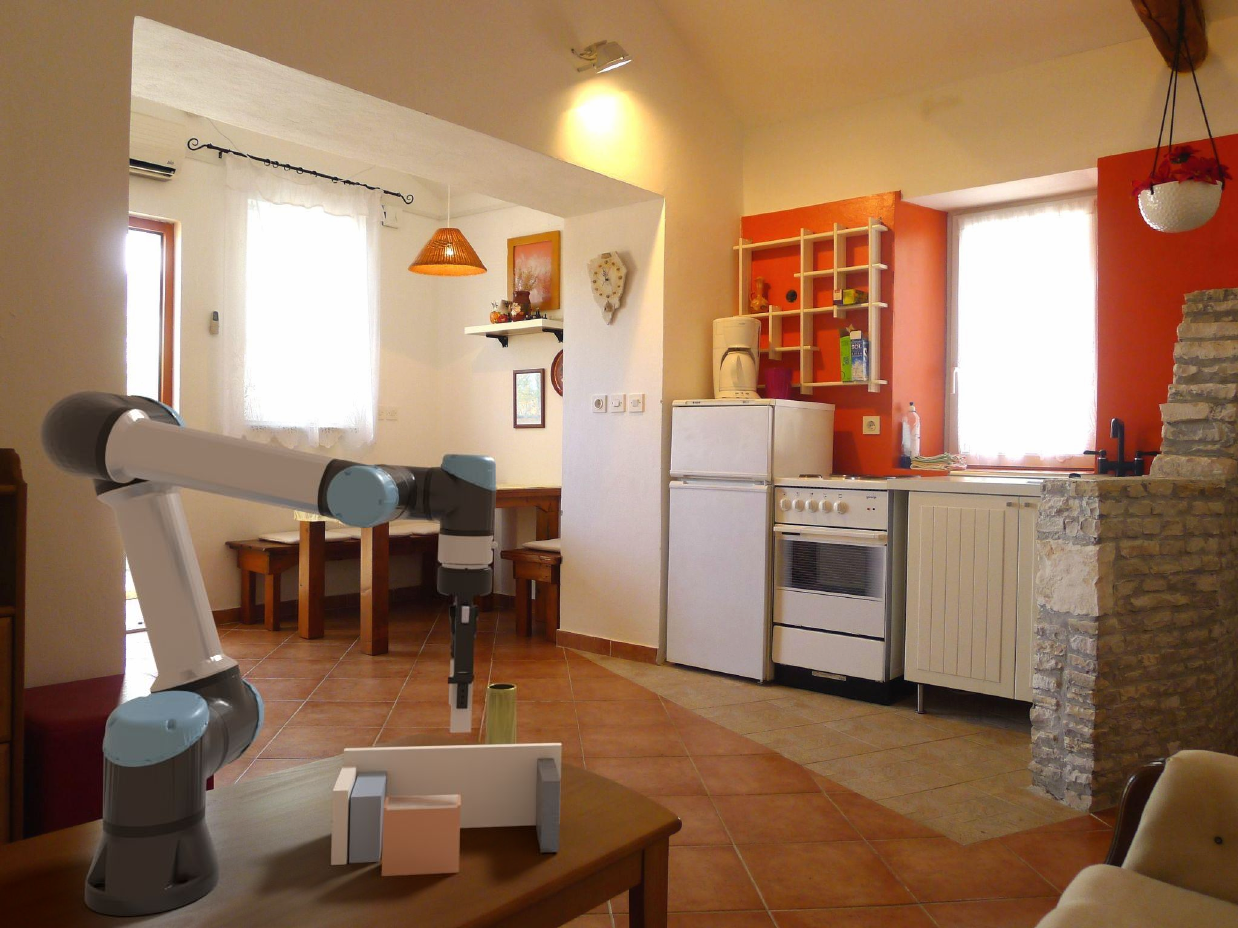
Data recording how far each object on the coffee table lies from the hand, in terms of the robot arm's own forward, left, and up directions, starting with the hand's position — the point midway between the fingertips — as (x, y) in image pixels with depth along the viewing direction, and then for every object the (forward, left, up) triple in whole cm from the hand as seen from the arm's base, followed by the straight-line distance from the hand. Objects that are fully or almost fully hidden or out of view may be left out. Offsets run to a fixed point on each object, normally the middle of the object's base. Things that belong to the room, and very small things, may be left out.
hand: (459, 717), depth 129 cm
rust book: (-5, -4, -19) cm, 20 cm away
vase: (+7, +37, -19) cm, 43 cm away
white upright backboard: (-1, +4, -19) cm, 20 cm away
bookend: (+13, +4, -19) cm, 23 cm away
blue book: (-12, +4, -19) cm, 23 cm away
